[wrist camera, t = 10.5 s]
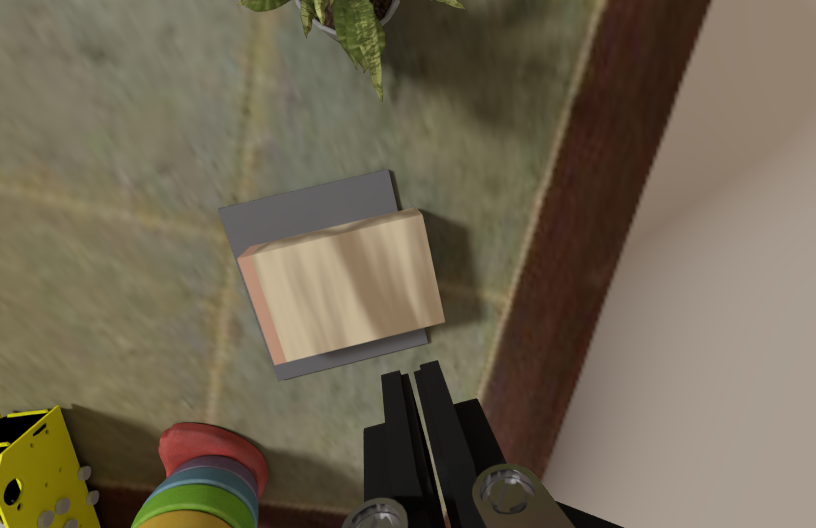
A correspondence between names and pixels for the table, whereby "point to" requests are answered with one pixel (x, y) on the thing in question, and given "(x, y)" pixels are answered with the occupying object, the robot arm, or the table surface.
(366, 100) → the table surface
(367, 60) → the house plant
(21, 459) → the yellow toy chassis
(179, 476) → the stacking bear
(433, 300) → the maple block
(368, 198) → the mat
